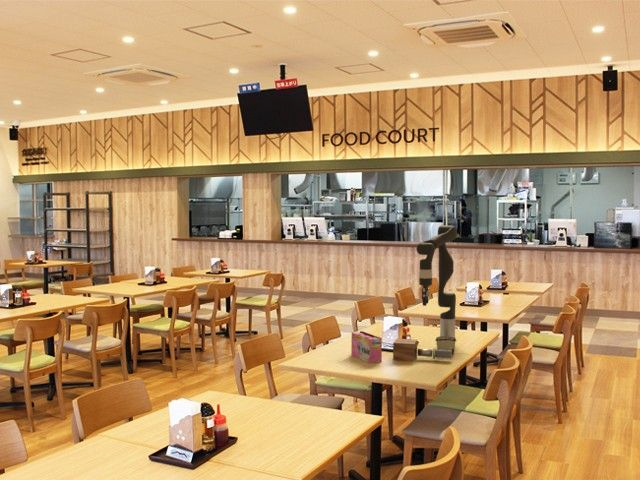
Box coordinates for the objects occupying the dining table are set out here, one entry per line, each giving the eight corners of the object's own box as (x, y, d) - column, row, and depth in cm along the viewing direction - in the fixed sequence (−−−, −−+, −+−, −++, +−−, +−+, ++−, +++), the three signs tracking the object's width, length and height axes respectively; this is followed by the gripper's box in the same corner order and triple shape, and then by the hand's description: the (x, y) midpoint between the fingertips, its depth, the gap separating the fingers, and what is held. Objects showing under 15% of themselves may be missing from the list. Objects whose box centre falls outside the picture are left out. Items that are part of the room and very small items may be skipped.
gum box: (349, 354, 392) (349, 331, 391) (361, 353, 396) (361, 330, 395) (370, 363, 371) (370, 339, 370) (382, 361, 374) (382, 338, 373)
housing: (396, 355, 389) (396, 338, 388) (417, 356, 385) (417, 339, 385) (393, 360, 377) (393, 342, 377) (414, 361, 374) (414, 344, 373)
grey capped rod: (418, 356, 382) (418, 346, 382) (451, 358, 377) (451, 348, 376) (417, 358, 376) (417, 348, 376) (450, 360, 371) (450, 350, 371)
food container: (455, 352, 395) (455, 336, 394) (456, 355, 389) (456, 338, 388) (434, 352, 396) (434, 335, 396) (435, 354, 390) (435, 338, 390)
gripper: (420, 275, 394) (420, 302, 395) (417, 278, 380) (417, 306, 381) (433, 275, 392) (433, 302, 393) (430, 278, 378) (430, 306, 379)
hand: (425, 304), depth 387 cm, fingers open, 8 cm apart
